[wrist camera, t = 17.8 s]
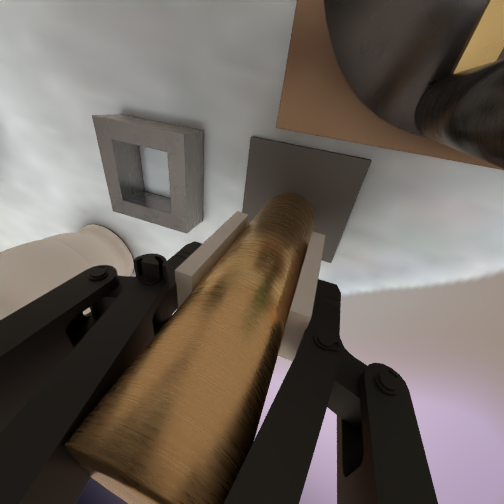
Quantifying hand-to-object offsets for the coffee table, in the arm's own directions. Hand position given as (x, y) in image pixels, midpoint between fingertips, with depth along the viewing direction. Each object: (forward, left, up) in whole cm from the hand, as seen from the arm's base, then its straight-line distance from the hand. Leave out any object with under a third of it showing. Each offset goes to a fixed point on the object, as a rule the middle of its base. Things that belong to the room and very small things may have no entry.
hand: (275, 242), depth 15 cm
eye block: (0, -13, -7) cm, 15 cm away
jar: (+13, -23, -7) cm, 27 cm away
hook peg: (+1, 0, -4) cm, 4 cm away
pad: (0, 0, -7) cm, 7 cm away
